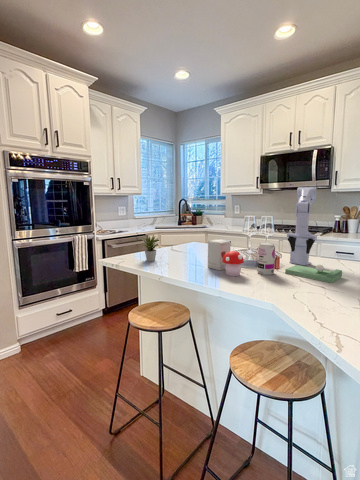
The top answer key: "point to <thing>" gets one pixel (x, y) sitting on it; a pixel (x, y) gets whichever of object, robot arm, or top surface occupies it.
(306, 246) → the robot arm
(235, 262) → the mushroom
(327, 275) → the green holed board
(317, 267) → the ball
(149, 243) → the house plant
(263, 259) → the supplement can
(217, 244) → the supplement box
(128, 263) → the top surface
